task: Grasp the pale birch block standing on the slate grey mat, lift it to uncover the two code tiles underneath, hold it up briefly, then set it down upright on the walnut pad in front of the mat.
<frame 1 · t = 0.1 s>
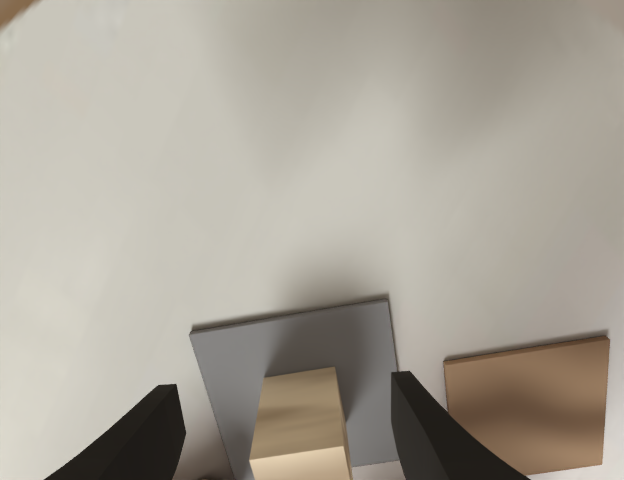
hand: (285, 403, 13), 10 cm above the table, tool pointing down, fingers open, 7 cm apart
code mat: (305, 396, 25), on the table
birch block: (305, 401, 24), resting on code mat
walnut pad: (524, 412, 25), on the table
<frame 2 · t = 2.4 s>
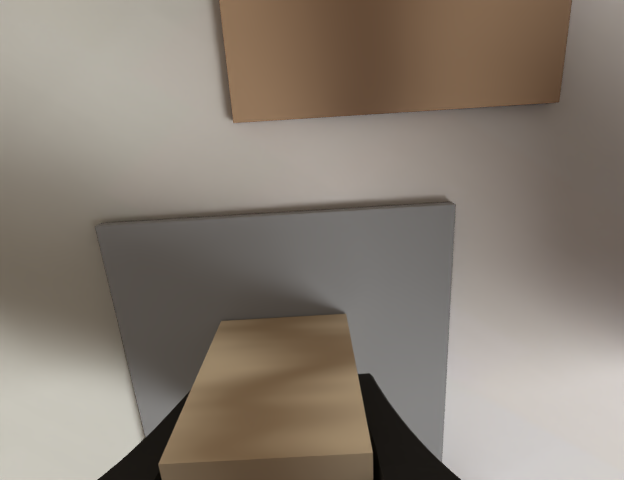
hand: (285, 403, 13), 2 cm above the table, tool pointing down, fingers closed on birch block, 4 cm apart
code mat: (289, 362, 15), on the table
birch block: (288, 370, 14), resting on code mat, touching gripper
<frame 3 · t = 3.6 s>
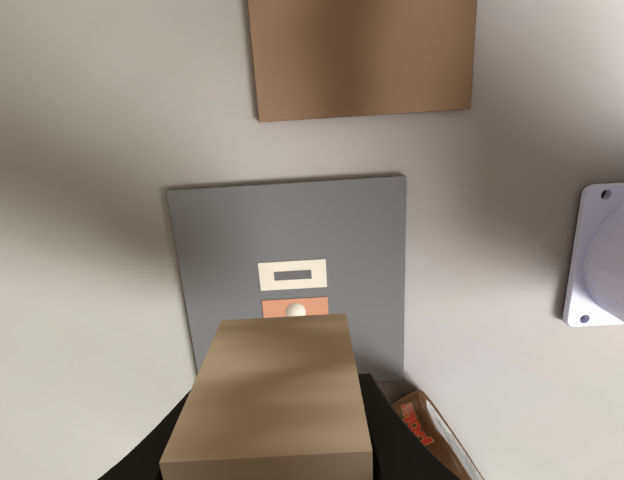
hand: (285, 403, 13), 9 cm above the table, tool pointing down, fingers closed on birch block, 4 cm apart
code mat: (294, 290, 21), on the table
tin: (445, 447, 25), on the table
birch block: (288, 369, 14), point 7 cm above the table, touching gripper
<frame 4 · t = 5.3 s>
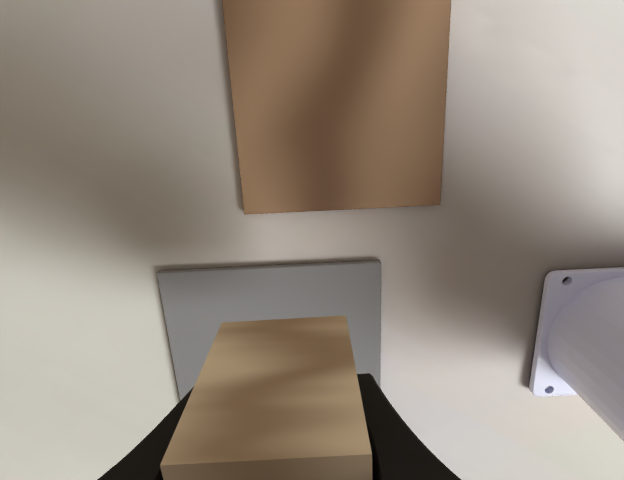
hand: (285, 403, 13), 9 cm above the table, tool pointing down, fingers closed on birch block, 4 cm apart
code mat: (277, 360, 23), on the table
birch block: (288, 371, 14), point 7 cm above the table, touching gripper
walnut pad: (338, 106, 18), on the table
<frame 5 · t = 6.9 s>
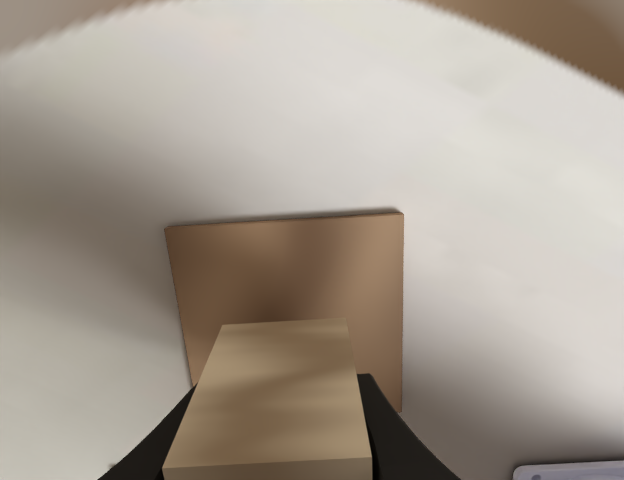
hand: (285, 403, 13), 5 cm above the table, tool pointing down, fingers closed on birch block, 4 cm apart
birch block: (288, 373, 15), point 3 cm above the table, touching gripper
walnut pad: (292, 323, 18), on the table
when the fingers open (3 cm above the table, at t = 8.2 s): birch block drops 1 cm, resting on walnut pad.
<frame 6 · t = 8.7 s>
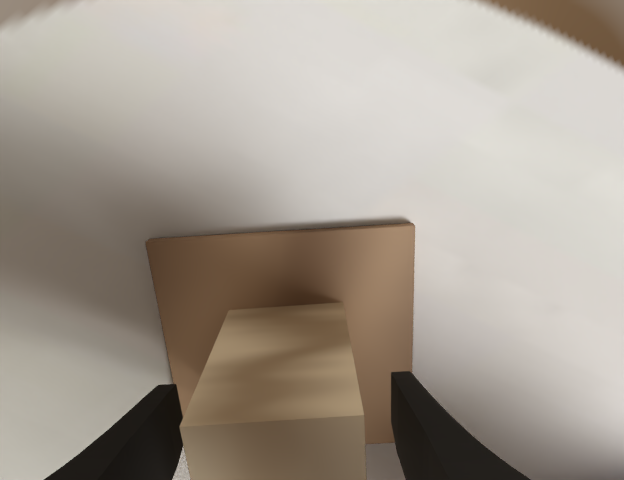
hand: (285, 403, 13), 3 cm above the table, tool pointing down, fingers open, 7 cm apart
birch block: (290, 355, 16), resting on walnut pad
walnut pad: (290, 345, 16), on the table
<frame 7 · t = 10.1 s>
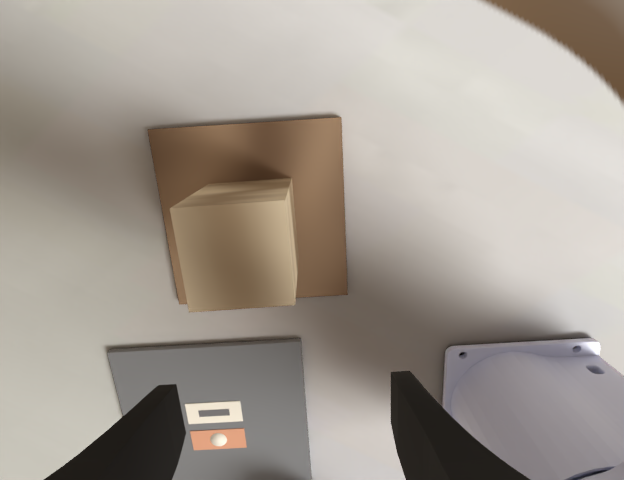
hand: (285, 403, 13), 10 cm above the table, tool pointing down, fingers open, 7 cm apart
code mat: (217, 421, 26), on the table
birch block: (255, 221, 21), resting on walnut pad
walnut pad: (255, 216, 21), on the table
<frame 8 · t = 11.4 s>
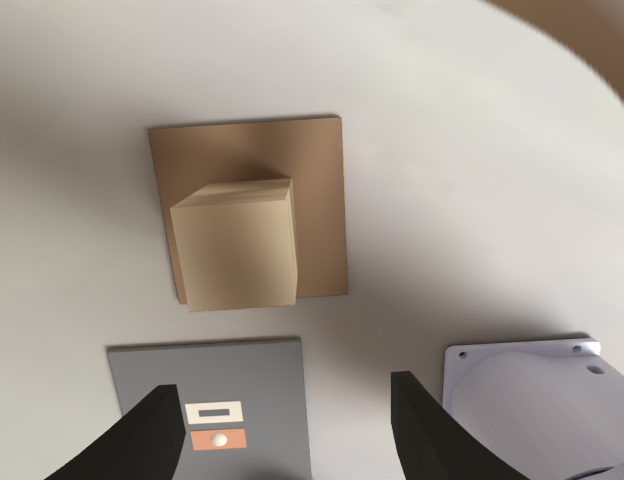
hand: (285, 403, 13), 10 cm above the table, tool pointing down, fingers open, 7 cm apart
code mat: (217, 421, 26), on the table
birch block: (255, 221, 21), resting on walnut pad
walnut pad: (255, 215, 21), on the table
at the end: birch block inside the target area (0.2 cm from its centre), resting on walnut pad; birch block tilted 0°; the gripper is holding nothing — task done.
